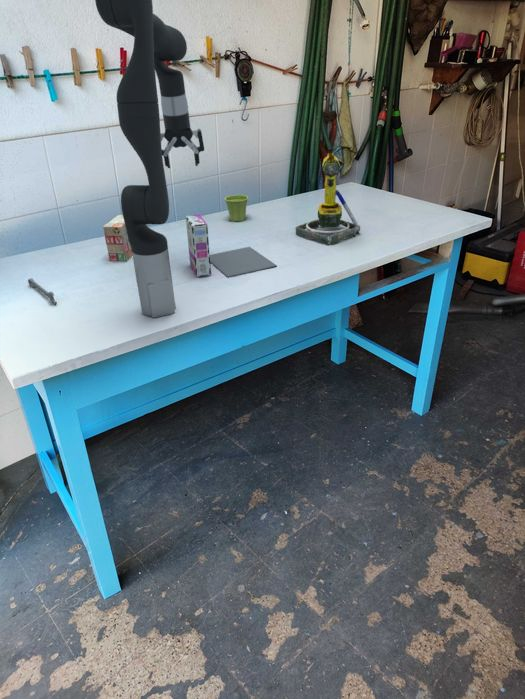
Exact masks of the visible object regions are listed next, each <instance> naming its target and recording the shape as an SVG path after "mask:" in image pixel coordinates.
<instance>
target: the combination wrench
mask: <svg viewBox="0 0 525 699" xmlns="http://www.w3.org/2000/svg"><path fill="white" fill-rule="evenodd" d="M27 284H28V286H29V287H31V288H35V289H36V290H38V291H39V292H41V293H42V294H43V295H44V296H46V297H47V298H48V299H49V300H50V302H51V304H52V305H54V306H55V305H58V302H57V301H56V300H55V297H54V296H55V293H54V292H53V291H47V290H46V289H45V288H44V287H42V286H41V285H40V284H39V283H37V282H36V281H35V280H34V279H33V278H32V277H31V278H28V280H27Z"/></svg>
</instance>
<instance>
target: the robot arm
mask: <svg viewBox="0 0 525 699" xmlns="http://www.w3.org/2000/svg"><path fill="white" fill-rule="evenodd" d="M94 1H95V6H96V9H97V12H98V15H99V16H100V18H101V19H102V22H104V23H105V24H106V25H107V26H109V27H112V28H114V29H117V30H119V31H122V32H124V33H126V34H128V35H130V36H131V37H134V39H133V40H134V41H133V48H132V53H131V56H130V59H129V61H128V64H127V66H126V69H125V70H124V73H123V74H122V76H121V79H120V82H119V84H118V87H117V89H116V90H117V91H116V104H117V115H118V121H119V122H118V123H119V127H120V129H121V132H122V133H123V135H124V138H126V140H127V142H128V143H129V144H130V146H131V147H132V148H133V150H134V151H135V153H136V154H137V156H138V157H139V159H140V162H141V163H142V165H143V167H144V170H145V173H146V176H147V181H148V184H147V185H145V184H143V185H139V184H137V185H136V184H131V185H130V184H129V185H126V186H124V187H123V189H122V191H121V196H120V207H121V215H123V218H124V222H125V227H126V231H127V236H128V241H129V243H130V246H131V250H132V256H133V257H132V261H133V266H134V273H135V278H136V279H135V280H136V285H137V286H136V287H137V291H138V296H139V302H140V307H141V313H142V314H144V315H145V316H149V317H150V318H153V319H154V318H158V317H163V316H167V315H171V314H176V313H175V311H176V308H177V307H176V306H177V305H176V299H175V292H174V284H173V279H172V278H173V276H172V269H171V268H172V266H171V262H170V260H171V259H170V253H169V244H168V239H167V238H166V236H165V235H164V234H162V233H160V232H157V231H155V230H153V229H152V228H150V227H149V226H148V225H163V224H165V223H167V221H168V219H169V215H170V199H169V193H168V185H167V181H166V179H167V178H166V172H165V167H166V168H167V169H171V164H170V163H171V162H170V157H169V153H170V152H171V151H172V148H176V149H177V148H185V147H189V149H190V150H191V151H192V152H193V155H194V164H195V167H198V166H199V165H200V163H201V162H200V153H201V152H204V151H205V146H204V141H203V134H202V129H201V128H197V129H196V130H195V129H194V130H192V128H191V123H190V122H191V121H190V112H189V105H188V98H187V96H186V94H187V93H186V88H185V79H184V74H183V72H182V71H180V70H178V69H174V68H171V67H170V66H168V65H167V64H166V62H179V61H181V60H183V59H184V58H185V57H186V54H187V52H188V51H187V49H188V48H187V47H188V46H187V45H188V44H187V40H186V38H185V36H184V35H183V33H182V32H181V31H180V30H179V29H177V28H175V27H173V26H171V25H167V24H165V22H164V21H163V20H162V19H161V18H160V17H159V16H158V15H157V14H155V13H154V12H153V8H154V7H153V0H94ZM156 77H157V79H158V86H159V92H160V103H161V104H160V106H161V111H162V117H163V118H162V119H163V123H164V132H163V133H162V132H161V118H160V107H159V95H158V89H157V79H156ZM193 136H195V138H196V139H198V144H199V146H196V144H195V143H194V142H193V141H192V140H191V139H193V138H192V137H193ZM164 139H165V140H166V141H167V144H166V146H165V148H164V149H162V148H163V147H162V142H163V140H164ZM164 166H165V167H164ZM146 224H147V225H146Z"/></svg>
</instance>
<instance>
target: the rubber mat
mask: <svg viewBox="0 0 525 699" xmlns="http://www.w3.org/2000/svg"><path fill="white" fill-rule="evenodd" d="M211 263H212V264H213V265H212V264H211ZM210 264H211V265H212V266H213V267H215V268H216V269H217V270H218V269H219V270H220V271H221V272H220V271H219V270H218V271H219V272H220V273H221V274H223V275H224V276H225V277H226V278H227V277H228V279H229V277H230V278H233V277H238V275H239V276H241V275H247V273H248V274H251V273H256V272H260V271H264V270H269V269H274V268H278V266H277V264H275V263H274V262H272V261H271V260H269V259H268V258H267V257H265V256H264V255H263V254H261V253H259V252H258V251H257V250H255V249H254V248H252V247H251V246H246V247H241V248H235V249H232V250H231V249H230V250H227V251H222V252H216V253H211V254H210Z"/></svg>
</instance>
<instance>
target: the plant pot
mask: <svg viewBox="0 0 525 699" xmlns="http://www.w3.org/2000/svg"><path fill="white" fill-rule="evenodd" d="M248 199H249V196H248V195H244V194H233V195H227V196H226V197H224V201H225V203H226V206H227V211H228V215H229V219H230V221H231V222H243V221H245V220H246V215H247V213H246V212H247V204H248Z"/></svg>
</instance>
